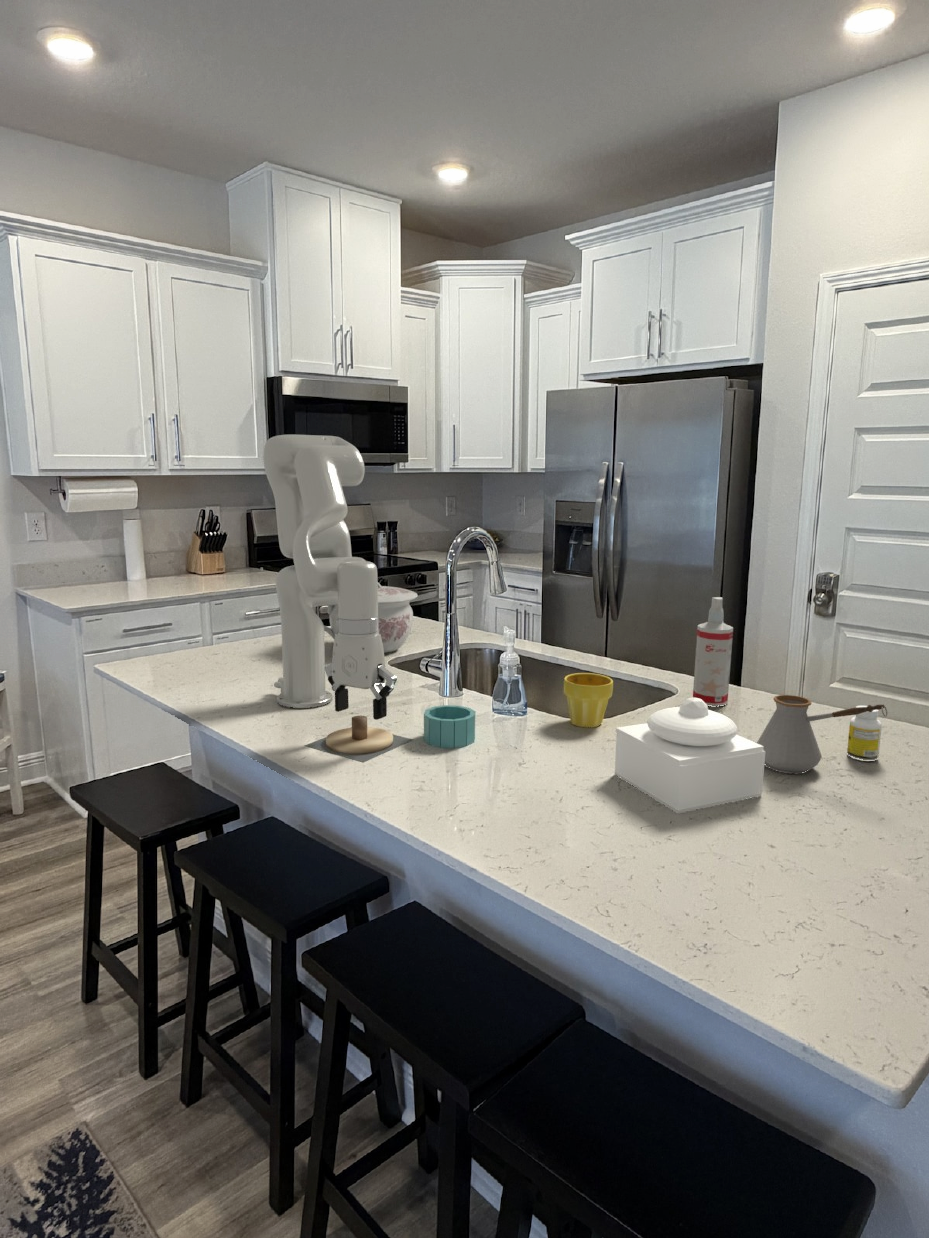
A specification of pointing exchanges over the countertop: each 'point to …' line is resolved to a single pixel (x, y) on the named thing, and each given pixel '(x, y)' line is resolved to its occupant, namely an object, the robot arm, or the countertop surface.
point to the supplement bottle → (864, 735)
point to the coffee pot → (796, 734)
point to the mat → (359, 757)
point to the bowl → (449, 726)
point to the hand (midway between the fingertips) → (360, 713)
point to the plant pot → (587, 697)
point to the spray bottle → (713, 657)
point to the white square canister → (689, 758)
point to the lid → (359, 738)
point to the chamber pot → (385, 616)
